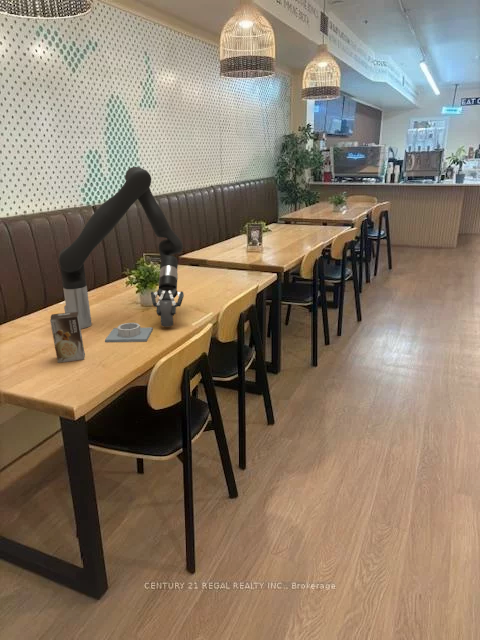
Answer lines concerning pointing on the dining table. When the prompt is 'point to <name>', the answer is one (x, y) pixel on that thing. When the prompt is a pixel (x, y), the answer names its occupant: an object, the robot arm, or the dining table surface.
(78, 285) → the robot arm
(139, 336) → the grey ring socket base
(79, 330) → the coffee box
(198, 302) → the dining table surface
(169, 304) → the dark grey cylinder
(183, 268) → the dining table surface
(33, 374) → the dining table surface
